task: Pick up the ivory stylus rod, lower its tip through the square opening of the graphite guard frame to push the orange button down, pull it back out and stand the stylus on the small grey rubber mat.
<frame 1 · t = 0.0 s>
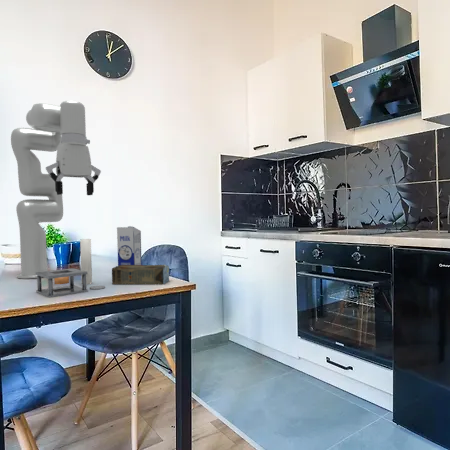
hand: (75, 194, 122), 31 cm above the table, tool pointing down, fingers open, 9 cm apart
stylus: (86, 283, 137), on the table
guard frame: (62, 291, 122), on the table
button: (61, 280, 122), point 4 cm above the table, slide at 0.0 cm
mat: (97, 288, 127), on the table
dark brown box: (141, 283, 137), on the table
milk carton: (130, 277, 150), on the table
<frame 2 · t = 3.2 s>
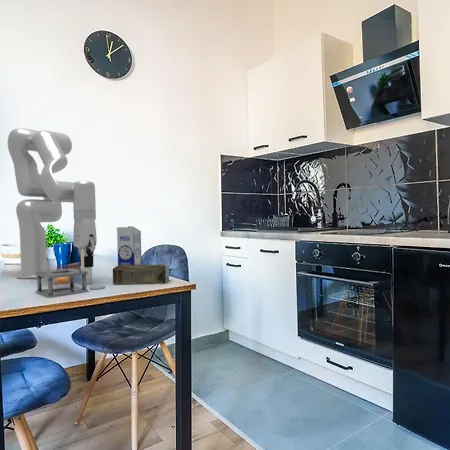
hand: (86, 266, 137), 6 cm above the table, tool pointing down, fingers closed on stylus, 3 cm apart
stylus: (86, 283, 137), on the table, touching gripper
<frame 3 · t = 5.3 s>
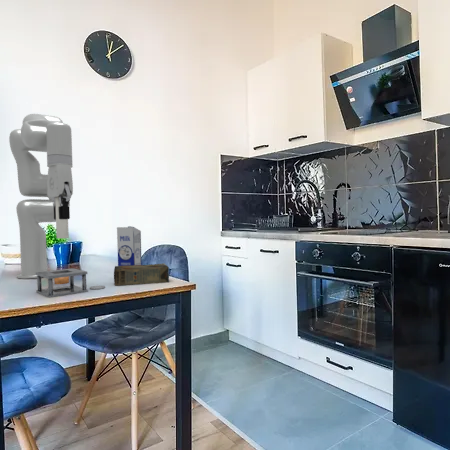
hand: (61, 218, 123), 24 cm above the table, tool pointing down, fingers closed on stylus, 3 cm apart
stylus: (62, 238, 123), point 17 cm above the table, touching gripper
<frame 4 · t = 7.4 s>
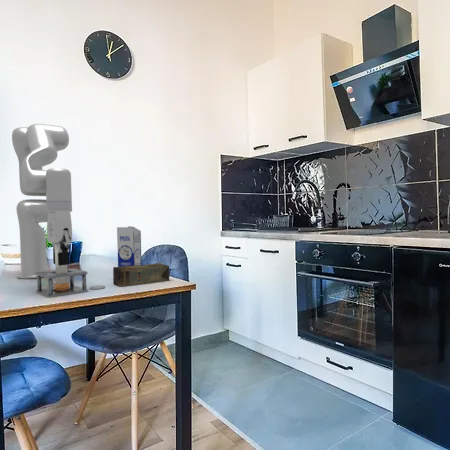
hand: (61, 263, 122), 9 cm above the table, tool pointing down, fingers closed on stylus, 3 cm apart
stylus: (61, 283, 122), point 3 cm above the table, touching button, gripper
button: (61, 286, 122), point 2 cm above the table, slide at 2.0 cm, touching stylus
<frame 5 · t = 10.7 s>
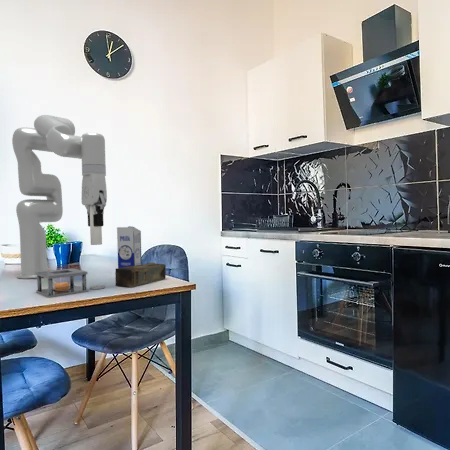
hand: (95, 225, 127), 21 cm above the table, tool pointing down, fingers closed on stylus, 3 cm apart
stylus: (96, 244, 127), point 15 cm above the table, touching gripper
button: (61, 286, 122), point 2 cm above the table, slide at 2.0 cm
when the fingers open (7 cm above the table, at t = 13.4 s): stylus stays where it is, resting on mat.
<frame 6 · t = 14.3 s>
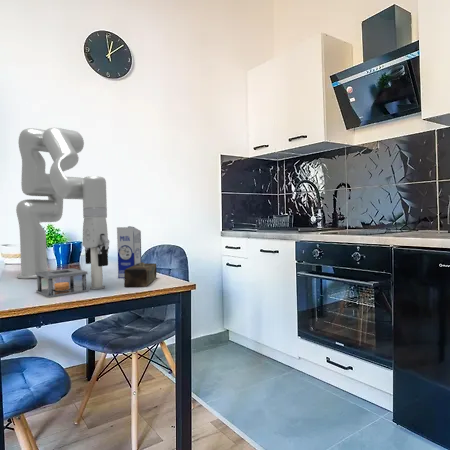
hand: (96, 264, 127), 8 cm above the table, tool pointing down, fingers open, 9 cm apart
stylus: (97, 286, 127), resting on mat
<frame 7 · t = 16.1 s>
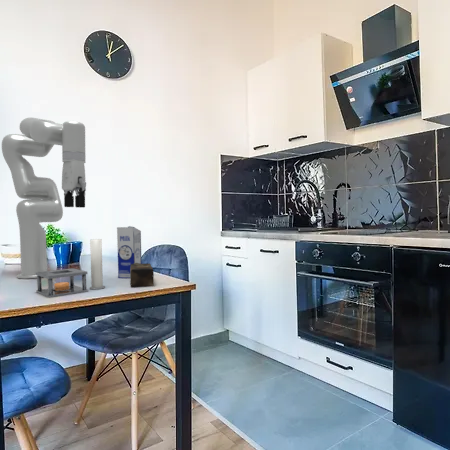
hand: (74, 207, 133), 28 cm above the table, tool pointing down, fingers open, 9 cm apart
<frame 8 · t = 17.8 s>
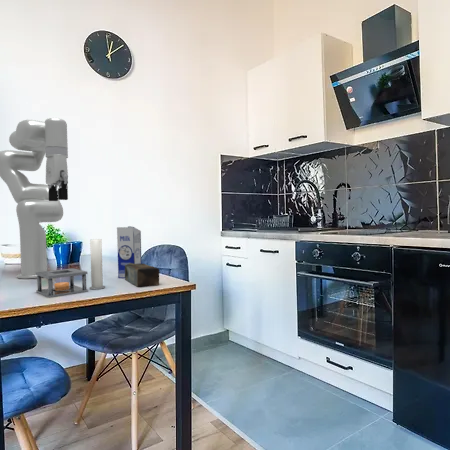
hand: (58, 200, 139), 30 cm above the table, tool pointing down, fingers open, 9 cm apart
at the end: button slide at 2.0 cm; stylus 0.1 cm from the mat (horizontally); stylus tilted 0° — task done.
